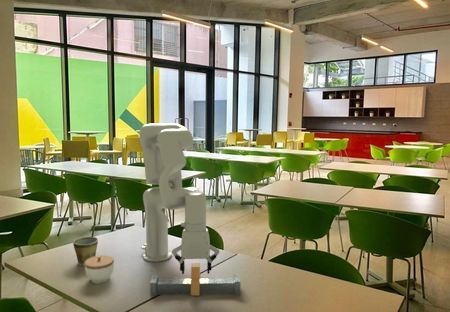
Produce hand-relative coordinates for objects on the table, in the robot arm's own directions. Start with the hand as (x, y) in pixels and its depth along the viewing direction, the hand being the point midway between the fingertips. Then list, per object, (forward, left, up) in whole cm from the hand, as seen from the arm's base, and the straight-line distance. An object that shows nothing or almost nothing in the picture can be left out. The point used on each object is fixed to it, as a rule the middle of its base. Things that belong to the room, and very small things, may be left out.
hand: (195, 272), depth 133 cm
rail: (0, 0, -7) cm, 7 cm away
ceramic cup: (-56, -5, -8) cm, 57 cm away
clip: (0, 0, -7) cm, 7 cm away
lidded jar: (-37, -13, -8) cm, 40 cm away
